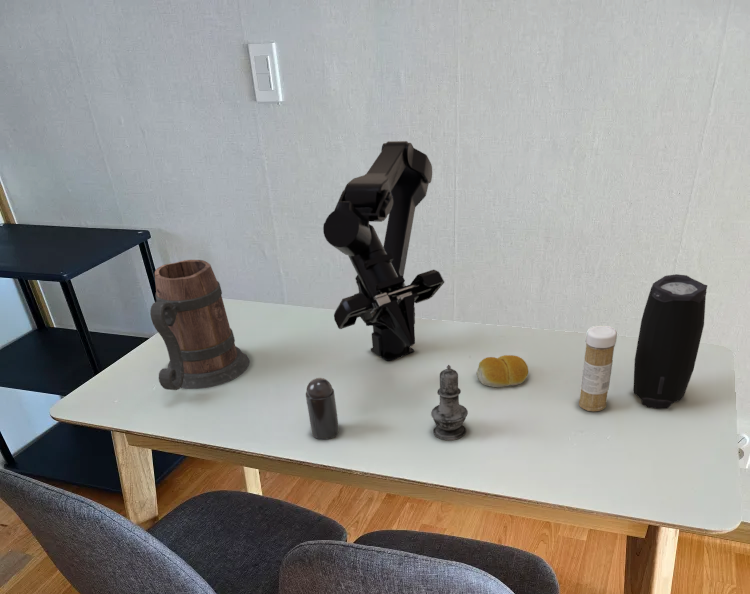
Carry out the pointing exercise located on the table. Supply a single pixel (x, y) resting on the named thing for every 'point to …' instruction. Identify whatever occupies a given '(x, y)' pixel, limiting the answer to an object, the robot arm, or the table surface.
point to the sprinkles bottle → (597, 367)
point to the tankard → (194, 327)
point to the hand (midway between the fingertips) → (412, 345)
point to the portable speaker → (669, 340)
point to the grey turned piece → (449, 408)
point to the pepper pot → (322, 409)
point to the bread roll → (502, 371)
